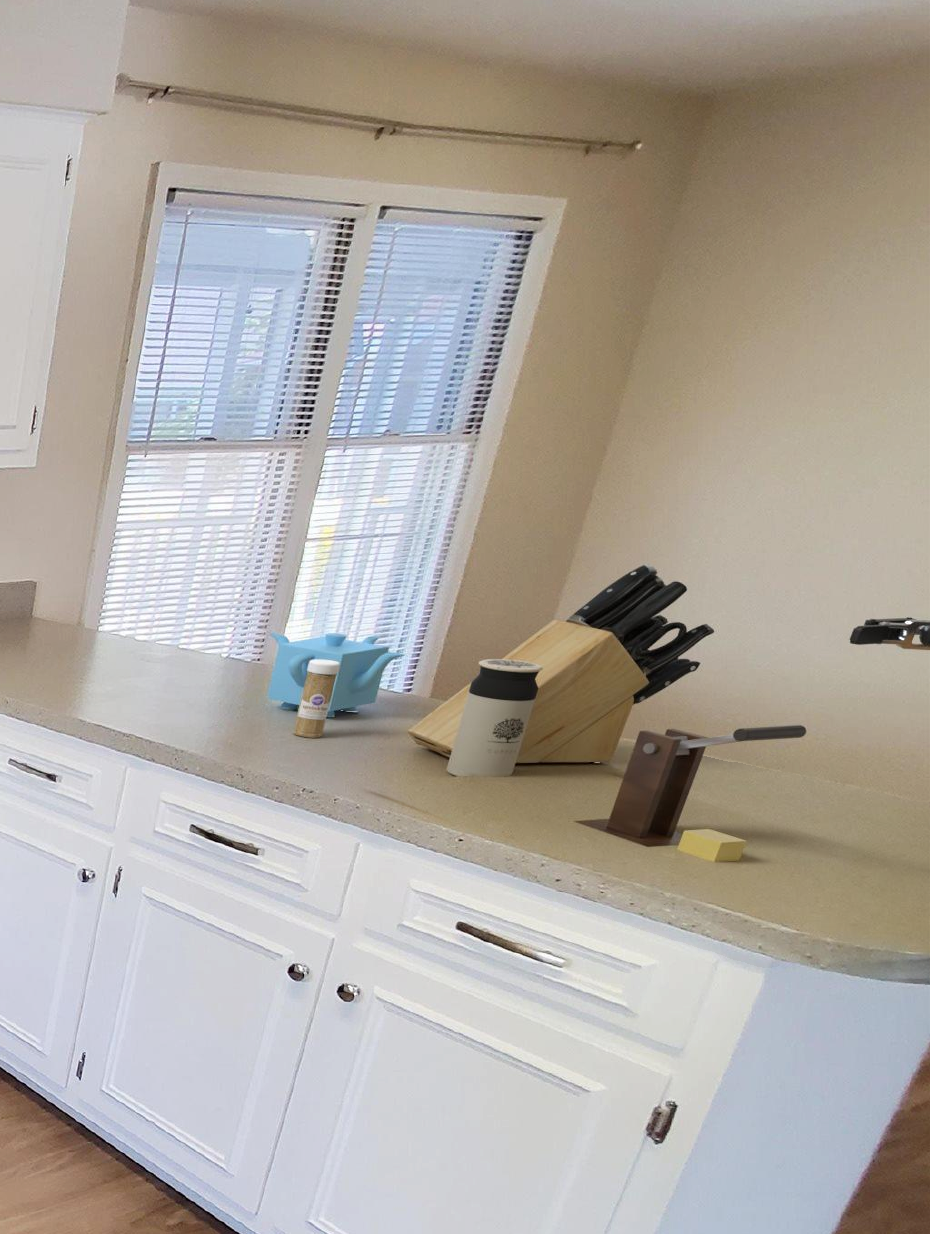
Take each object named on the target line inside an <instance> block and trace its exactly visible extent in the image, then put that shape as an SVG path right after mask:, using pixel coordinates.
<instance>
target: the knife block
mask: <svg viewBox="0 0 930 1234" xmlns="http://www.w3.org/2000/svg"><path fill="white" fill-rule="evenodd" d="M657 574H658V570H657V569H656V568H655V567H654V566H653V565H651V564H650V563H645V564H643V565H641V566H639V567H637V568H635V569H633V570H631V571H629V572H628V573H626V574H624V575H623V576H621V577H620V578H618V579H616V580H615V581H613V582H612V583H611V584H609V585H608V586H606V587H605V588H604V589H602V590H601V591H600V592H599V593H597V594H596V595H595V596H594V597H593V598H591V599H590V600H589V601H588V602H586V604H584V605H583V606H582V607H580V608H579V609H578V610H576V611H575V612H573V614H571V616H569V617H568V618H567V619H566V620H560V619H554V620H551V621H550V622H549V623H548V624H546V625H545V626H544V627H542V628H541V629H540V630H539V631H537V632H536V633H535V634H533V635H532V636H531V637H529V638H528V639H526V640H525V641H524V642H522V643H521V644H520V645H519V646H517V647H516V648H514V649H513V650H512V651H511V652H509V653H508V654H507V655H505V656H504V657H503V658H502V659H504V660H516V661H524V662H530V663H534V664H538V665H540V666H542V670H541V671H539V673H538V674H537V676H536V678H535V680H536V683H537V686H538V691H537V695H536V698H535V701H534V704H533V708H532V711H531V714H530V717H529V721H528V724H527V727H526V730H525V734H524V737H523V740H522V743H521V747H520V750H519V753H518V756H517V760H516V763H515V764H534V763H535V764H536V763H537V764H538V763H590V762H601V763H610V762H611V761H612V760H613V758H614V755H615V752H616V749H617V747H618V745H619V742H620V740H621V737H622V734H623V732H624V729H625V728H626V727H625V726H626V723H627V722H628V718H629V716H630V714H631V711H632V708H633V706H635V705H638V704H641V703H642V702H643V701H646V700H647V699H649V698H651V697H653V696H654V695H656V694H657V693H659V692H661V691H663V690H665V689H666V688H668V687H670V686H671V685H672V684H674V683H675V682H677V681H678V680H680V679H681V678H683V677H684V676H686V675H688V674H691V673H693V672H696V671H697V670H698V668H700V665H701V662H700V661H696V660H690V659H689V658H679V657H681V656H683V655H684V654H685V653H686V652H688V651H689V650H690V649H692V648H693V647H694V646H695V645H697V644H698V643H699V642H700V641H702V640H703V639H704V638H706V637H708V636H710V635H713V634H714V633H715V629H714V628H712V627H711V626H710V625H709V624H708V623H704V624H701V625H698V626H695V627H694V628H692V629H690V630H688V629H687V625H685V623H683V622H680V621H678V622H677V621H673V622H668V621H669V620H668V618H667V617H665V616H664V615H662V614H660V613H661V612H662V611H664V610H665V609H667V608H668V607H669V606H671V605H672V604H674V603H675V602H676V601H678V599H680V598H681V597H682V596H683V595H684V594H686V592H687V591H688V588H687V585H685V584H684V583H682V582H680V581H672V582H670V583H668V584H666V583H665V582H664V580H663V579H662V578H661V577H659V576H658V575H657ZM676 629H679V630H678V633H677V635H676V636H675V637H674V638H673V639H672V640H671V641H669V642H667V643H666V644H663V645H661V646H659V647H657V648H654V649H650V648H651V647H653V645H655V644H656V643H657V642H658V641H660V639H662V638H663V637H664V636H665V635H666V634H668V633H669V632H670V631H673V630H676ZM470 686H471V682H470V683H468V684H467V685H466V686H464V687H463V688H462V689H461V690H459V691H458V692H457V693H455V694H454V695H452V696H451V697H450V698H449V699H447V700H446V701H445V702H444V703H442V704H441V705H440V706H438V707H437V708H435V710H433V711H432V712H430V713H429V714H428V715H426V716H425V717H424V718H423V719H421V720H420V721H419V722H417V723H416V724H415V725H413V726H411V728H409V729H408V730H407V733H408V735H409V736H410V737H411V738H412V740H413V741H414V743H415V744H416V745H418V746H422V747H424V748H426V749H428V750H430V751H434V752H436V753H439V754H441V755H442V756H444V757H447V758H448V759H450V756H451V752H452V749H453V745H454V742H455V738H456V735H457V731H458V728H459V724H460V721H461V717H462V714H463V710H464V707H465V703H466V700H467V696H468V693H469V689H470Z"/></svg>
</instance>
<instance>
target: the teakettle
mask: <svg viewBox="0 0 930 1234" xmlns="http://www.w3.org/2000/svg"><path fill="white" fill-rule="evenodd" d="M268 635H270V636H271V637H272V638H274V640H275V641H276V642H277V645H278V647H277V650H276V656H275V660H274V664H273V668H272V669H273V670H272V674H271V678H270V683H269V688H268V692H267V697H266V698H267V699H269V700H273V701H278V702H283V703H282V704H281V705H279V706H278V708H279V709H283V710H287V711H288V710H290V711H294V710H295V711H296V710H298V709H299V704H300V700H301V696H302V692H303V688H304V686H305V682H306V677H307V672H308V671H307V668H308V664H309V661H310V660H315V659H323V660H332V661H336V662H339V663H340V667H339V672H338V674H337V676H336V679H335V682H334V687H333V693H332V697H331V701H330V705H329V709H328V713H327V717H333V716H335V717H336V715H335V714H336V713H335V711H338V710H339V711H340V710H343V711H358V709H357V707H360V706H364V705H369V704H374V703H376V701H377V697H378V692H379V689H380V685H381V681H382V678H383V673H384V671H385V669H386V668H387V666H388V665H389V664H390V663H391V661H393V660H395V659H397V658H401V657H405V656H406V654H405V653H400V652H399V653H398V652H389V649H390V647H389V646H387V645H380V644H375V643H376V642H377V640H379V639H380V636H378V635H372V636H368V637H365V638H364V639H363V640H362V641H356V640H348V639H347V637H348V635H346V634H343V633H337V632H333V633H332V632H329V633H325V634H324V636H319V637H314V638H313V637H312V638H307V639H301V640H294V641H290V640H289V638H288V637H287V636H286V635H284V634H280V633H275V632H269V633H268Z"/></svg>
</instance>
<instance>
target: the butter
mask: <svg viewBox="0 0 930 1234" xmlns="http://www.w3.org/2000/svg"><path fill="white" fill-rule="evenodd" d="M682 834H683V835H682V838H681V840H680V843H679V845H677V851H680V852H683V853H686V854H689V855H692V856H695V857H698V858H701V859H704V860H706V861H710V862H713V863H719V862H721V863H722V862H723V863H724V862H736V861H740V860H741V858H742V854H743V852H744V850H745V847H746V845H747V842H748V840H745V839H742V838H739V837H737V836H733V835H729V834H726V833H723V832H720V831H717V830H714V829H710V828H703V829H702V828H701V829H688V830H687V829H686V830H684V831H683V833H682Z"/></svg>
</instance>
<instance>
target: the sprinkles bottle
mask: <svg viewBox="0 0 930 1234" xmlns="http://www.w3.org/2000/svg"><path fill="white" fill-rule="evenodd" d="M339 667H340V663H339V662H336V661H332V660H323V659H315V660H310V661H309V664H308V668H307V671H308V672H307V677H306V682H305V686H304V688H303V692H302V696H301V700H300V704H299V706H298V708H297V714H296V715H297V716H296V721H295V725H294V729H293V730H292V734H293V735H295V736H298V737H302V738H311V739H317V738H321V737H323V735H324V727H325V724H326V719H327V718H326V717H327V713H328V709H329V705H330V701H331V697H332V693H333V687H334V682H335V679H336V676H337V674H338V672H339Z"/></svg>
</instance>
